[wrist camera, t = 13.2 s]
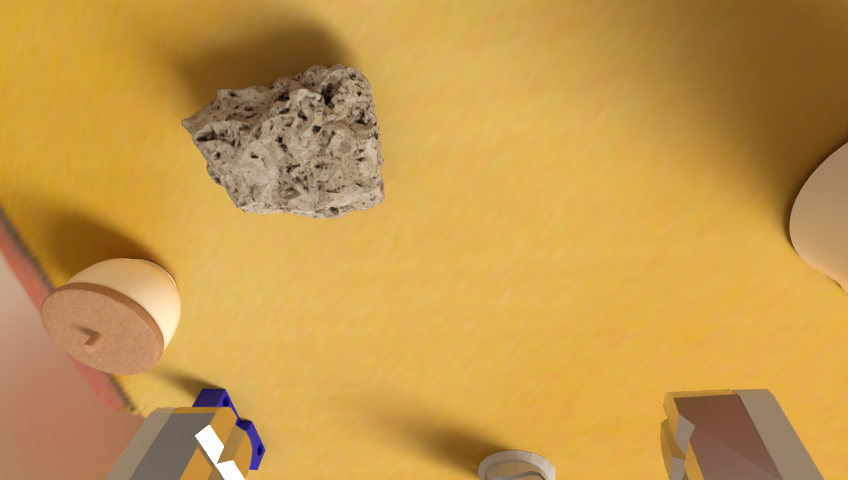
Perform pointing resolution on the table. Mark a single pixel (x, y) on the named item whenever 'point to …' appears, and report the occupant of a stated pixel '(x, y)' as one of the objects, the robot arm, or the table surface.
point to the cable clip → (222, 400)
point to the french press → (515, 466)
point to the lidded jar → (115, 315)
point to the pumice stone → (295, 144)
